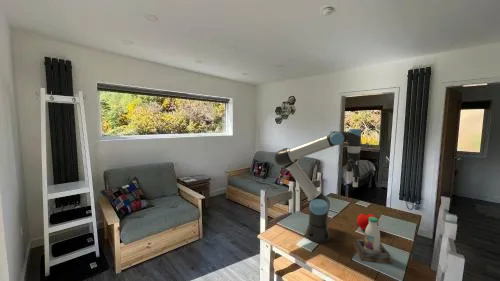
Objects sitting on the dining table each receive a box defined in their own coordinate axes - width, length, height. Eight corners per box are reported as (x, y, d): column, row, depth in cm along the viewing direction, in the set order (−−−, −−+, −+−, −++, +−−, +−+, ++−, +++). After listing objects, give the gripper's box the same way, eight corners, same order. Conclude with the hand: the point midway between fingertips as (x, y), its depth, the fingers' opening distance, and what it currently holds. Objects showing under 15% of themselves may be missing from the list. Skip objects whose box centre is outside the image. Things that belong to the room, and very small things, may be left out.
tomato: (381, 235, 145) (382, 218, 144) (359, 232, 148) (360, 216, 147) (374, 226, 157) (375, 211, 156) (354, 224, 160) (355, 209, 159)
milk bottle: (373, 247, 129) (375, 215, 128) (382, 255, 122) (384, 221, 120) (361, 247, 129) (363, 215, 127) (368, 255, 121) (370, 221, 120)
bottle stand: (361, 260, 119) (361, 253, 119) (352, 243, 135) (352, 237, 134) (393, 263, 116) (393, 256, 116) (380, 246, 132) (380, 240, 132)
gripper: (366, 155, 129) (364, 190, 131) (353, 149, 154) (352, 179, 156) (353, 155, 130) (351, 189, 132) (342, 149, 155) (341, 178, 157)
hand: (352, 183), depth 144 cm, fingers open, 13 cm apart
